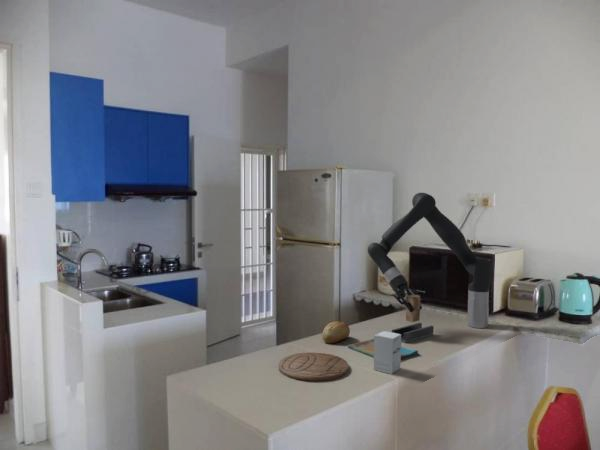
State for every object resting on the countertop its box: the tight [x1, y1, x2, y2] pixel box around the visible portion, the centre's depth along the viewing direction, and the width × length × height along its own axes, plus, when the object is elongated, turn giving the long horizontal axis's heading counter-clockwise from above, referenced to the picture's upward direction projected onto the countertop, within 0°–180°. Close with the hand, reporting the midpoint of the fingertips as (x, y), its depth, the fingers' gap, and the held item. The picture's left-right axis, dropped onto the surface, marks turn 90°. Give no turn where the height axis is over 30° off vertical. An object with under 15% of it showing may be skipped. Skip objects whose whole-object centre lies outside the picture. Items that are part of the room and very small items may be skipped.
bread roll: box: [322, 321, 351, 344], centre depth 201 cm, size 10×15×8 cm, turn 140°
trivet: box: [278, 352, 349, 383], centre depth 167 cm, size 25×25×2 cm
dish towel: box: [347, 338, 420, 361], centre depth 187 cm, size 17×23×2 cm
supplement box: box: [373, 330, 402, 375], centre depth 167 cm, size 7×7×13 cm
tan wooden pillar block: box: [405, 294, 421, 323], centre depth 206 cm, size 5×4×11 cm
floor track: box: [391, 322, 435, 344], centre depth 207 cm, size 20×8×4 cm, turn 129°
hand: (416, 310), depth 205 cm, fingers closed on tan wooden pillar block, 5 cm apart
